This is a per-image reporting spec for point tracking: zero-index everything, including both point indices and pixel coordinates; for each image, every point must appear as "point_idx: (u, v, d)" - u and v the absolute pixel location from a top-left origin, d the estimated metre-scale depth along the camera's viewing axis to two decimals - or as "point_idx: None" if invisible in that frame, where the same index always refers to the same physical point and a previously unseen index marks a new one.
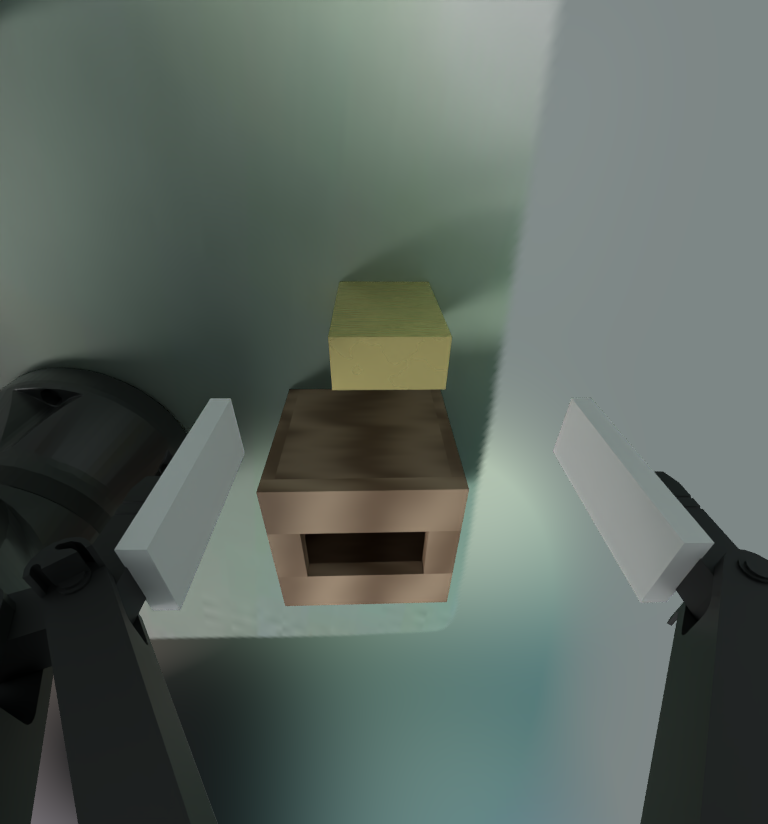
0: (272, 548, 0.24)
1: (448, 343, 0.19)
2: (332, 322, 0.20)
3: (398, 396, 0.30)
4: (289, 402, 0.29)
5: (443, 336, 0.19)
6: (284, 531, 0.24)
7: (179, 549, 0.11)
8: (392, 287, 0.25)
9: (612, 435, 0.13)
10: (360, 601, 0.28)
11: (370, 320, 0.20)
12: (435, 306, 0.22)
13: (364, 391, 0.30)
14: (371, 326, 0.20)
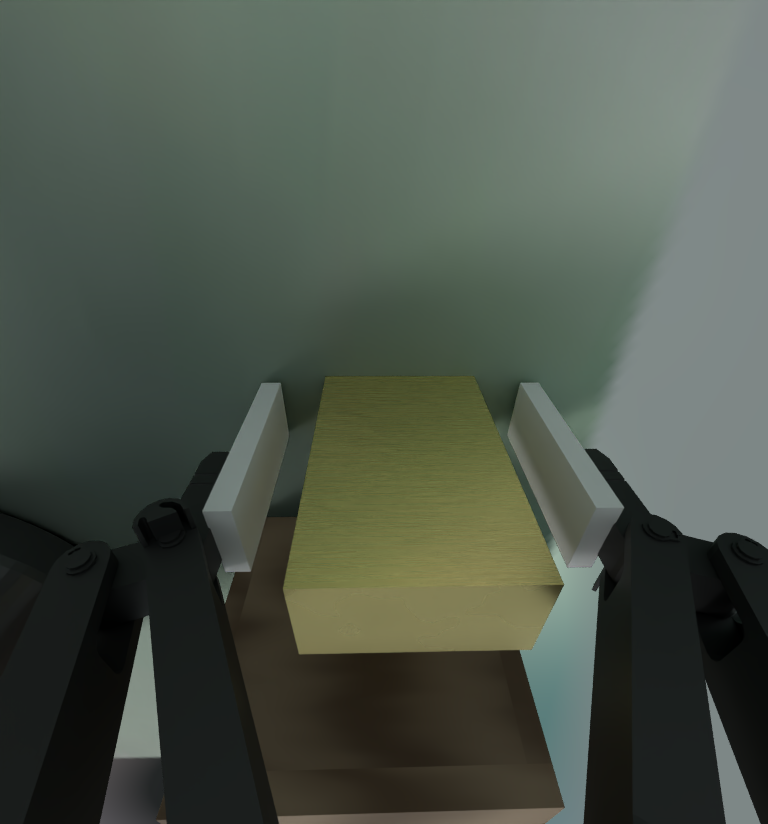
0: None
1: (553, 593, 0.08)
2: (299, 519, 0.10)
3: None
4: None
5: (546, 583, 0.08)
6: None
7: (250, 516, 0.11)
8: (415, 392, 0.15)
9: (551, 416, 0.14)
10: None
11: (378, 510, 0.10)
12: (501, 454, 0.12)
13: None
14: (381, 536, 0.09)
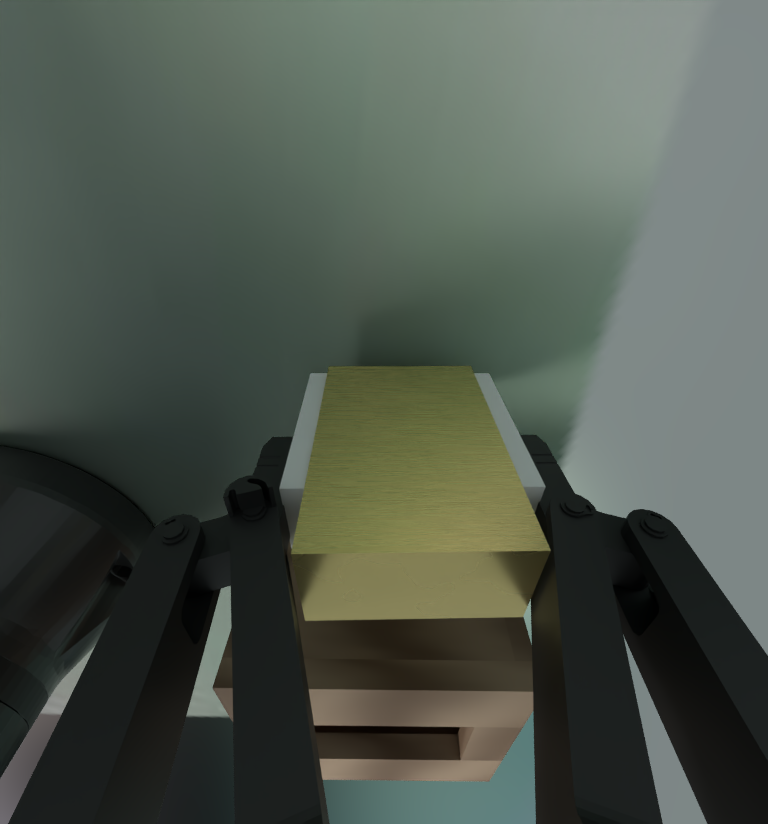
0: None
1: (541, 559, 0.09)
2: (305, 493, 0.10)
3: None
4: None
5: (534, 549, 0.09)
6: None
7: None
8: (414, 381, 0.15)
9: (494, 403, 0.14)
10: (369, 777, 0.21)
11: (378, 486, 0.11)
12: (495, 436, 0.12)
13: None
14: (382, 509, 0.10)
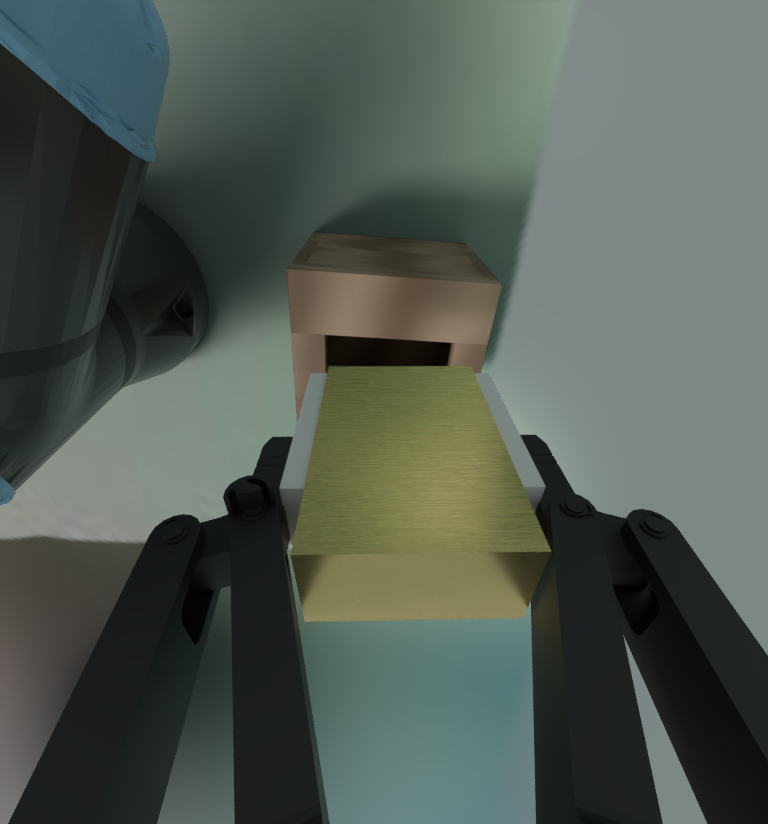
0: (294, 353, 0.24)
1: (542, 560, 0.09)
2: (305, 494, 0.10)
3: (424, 243, 0.30)
4: (314, 236, 0.28)
5: (534, 550, 0.09)
6: (309, 329, 0.23)
7: None
8: (414, 381, 0.15)
9: (494, 403, 0.14)
10: None
11: (378, 487, 0.11)
12: (495, 436, 0.12)
13: (390, 238, 0.30)
14: (382, 509, 0.10)
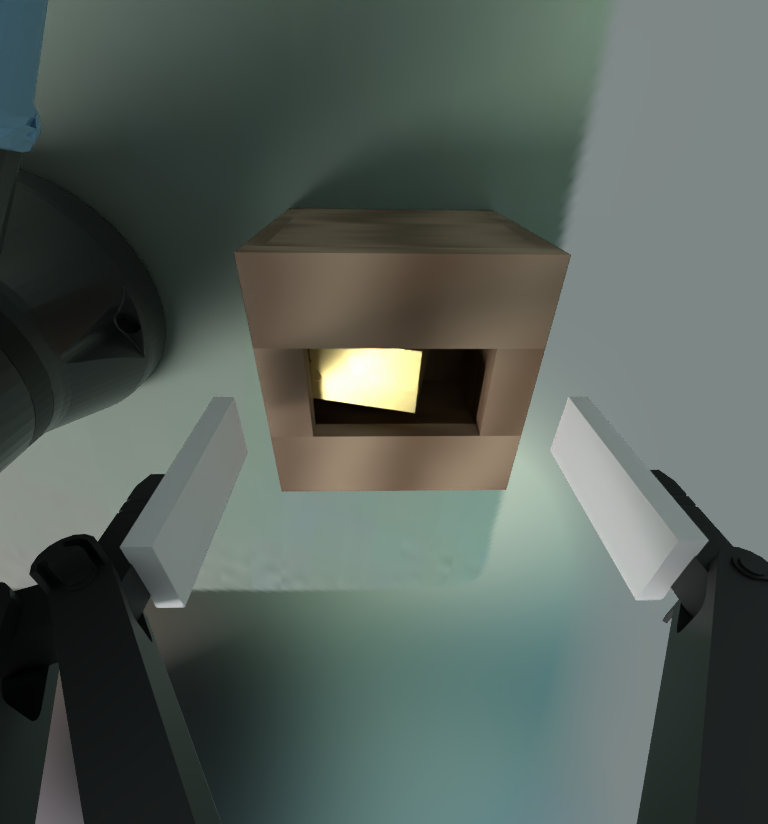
0: (261, 378, 0.16)
1: (418, 359, 0.16)
2: None
3: (438, 212, 0.22)
4: (289, 213, 0.21)
5: (413, 350, 0.16)
6: (279, 342, 0.16)
7: (183, 547, 0.11)
8: None
9: (608, 434, 0.13)
10: (386, 485, 0.20)
11: None
12: None
13: (391, 210, 0.22)
14: None
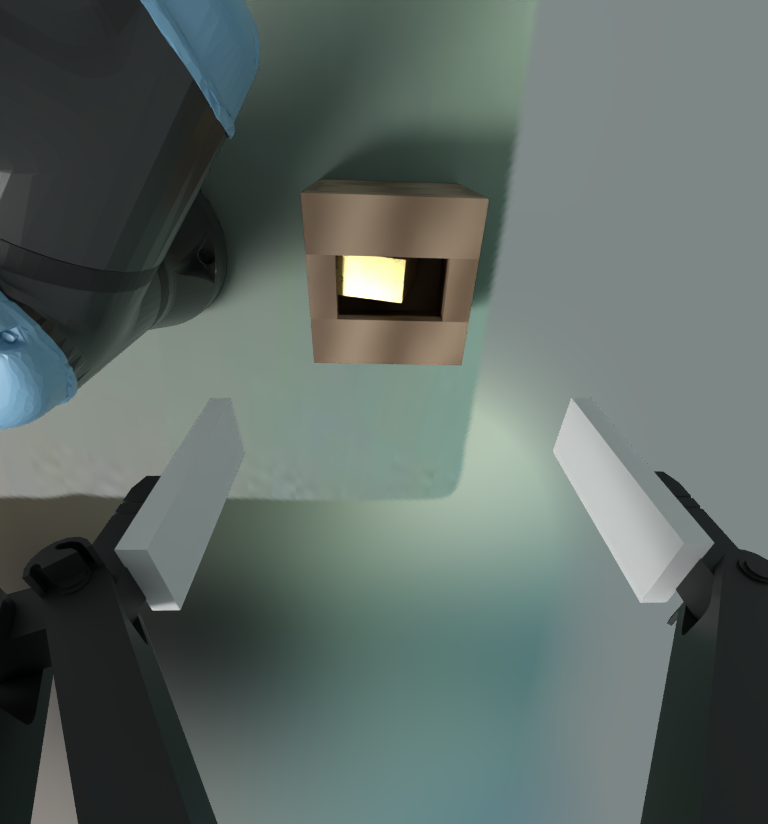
0: (308, 275, 0.27)
1: (403, 265, 0.27)
2: None
3: (420, 183, 0.33)
4: (321, 180, 0.32)
5: (400, 259, 0.27)
6: (321, 250, 0.26)
7: (179, 549, 0.11)
8: None
9: (612, 435, 0.13)
10: (383, 359, 0.31)
11: None
12: None
13: (389, 181, 0.33)
14: None
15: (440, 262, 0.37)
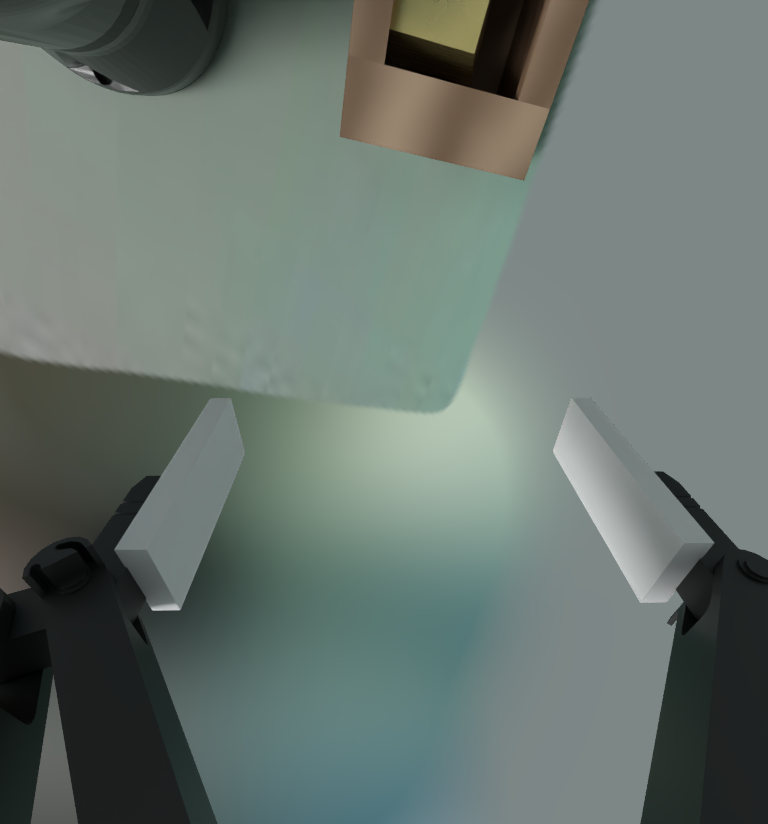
0: None
1: None
2: None
3: None
4: None
5: None
6: None
7: (179, 549, 0.11)
8: None
9: (612, 435, 0.13)
10: (430, 150, 0.24)
11: None
12: None
13: None
14: None
15: (500, 75, 0.30)
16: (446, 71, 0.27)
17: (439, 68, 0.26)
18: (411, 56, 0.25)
